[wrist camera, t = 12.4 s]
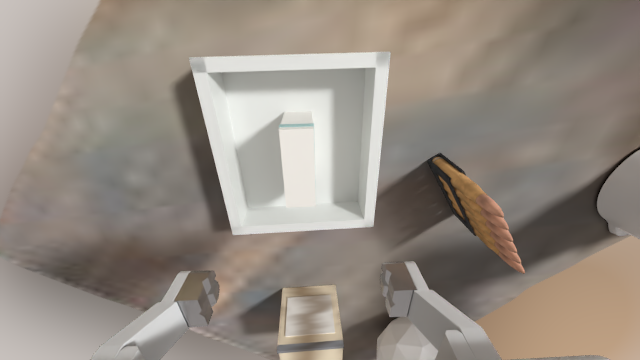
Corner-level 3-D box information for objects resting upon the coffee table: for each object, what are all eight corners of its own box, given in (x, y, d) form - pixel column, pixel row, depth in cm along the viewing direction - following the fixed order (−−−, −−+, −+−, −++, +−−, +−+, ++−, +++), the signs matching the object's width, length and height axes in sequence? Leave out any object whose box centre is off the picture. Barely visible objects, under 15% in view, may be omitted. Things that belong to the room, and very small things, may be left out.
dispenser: (335, 283, 41) (343, 345, 33) (335, 307, 44) (343, 369, 36) (282, 287, 41) (276, 350, 32) (285, 310, 44) (281, 374, 35)
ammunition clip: (426, 160, 31) (489, 214, 21) (440, 152, 31) (511, 204, 20) (454, 214, 36) (517, 282, 25) (465, 208, 35) (535, 274, 25)
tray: (376, 51, 25) (390, 51, 21) (364, 205, 34) (373, 226, 30) (207, 56, 24) (188, 57, 20) (241, 212, 33) (232, 234, 29)
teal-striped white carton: (311, 110, 27) (314, 128, 21) (313, 175, 31) (316, 206, 25) (283, 111, 27) (278, 129, 21) (289, 176, 31) (285, 208, 24)
